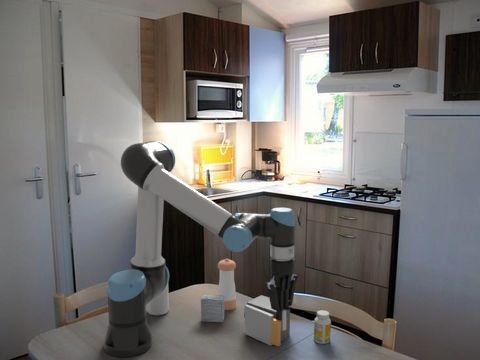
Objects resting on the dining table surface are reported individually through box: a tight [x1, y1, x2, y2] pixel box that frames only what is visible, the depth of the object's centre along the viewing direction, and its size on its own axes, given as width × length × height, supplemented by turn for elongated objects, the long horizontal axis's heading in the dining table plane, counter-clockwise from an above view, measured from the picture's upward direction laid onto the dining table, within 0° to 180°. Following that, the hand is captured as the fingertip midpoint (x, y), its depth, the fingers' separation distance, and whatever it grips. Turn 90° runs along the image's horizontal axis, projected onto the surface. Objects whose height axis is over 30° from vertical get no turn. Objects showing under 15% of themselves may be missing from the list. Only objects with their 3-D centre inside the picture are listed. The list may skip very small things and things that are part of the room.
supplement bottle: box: [313, 309, 332, 345], centre depth 155 cm, size 5×5×10 cm
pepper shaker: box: [217, 257, 237, 311], centre depth 181 cm, size 7×7×19 cm
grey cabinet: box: [243, 295, 291, 342], centre depth 160 cm, size 14×8×12 cm, turn 52°
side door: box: [244, 303, 282, 347], centre depth 154 cm, size 15×1×10 cm, turn 45°
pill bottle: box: [146, 283, 170, 316], centre depth 176 cm, size 8×8×15 cm
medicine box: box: [200, 294, 225, 323], centre depth 170 cm, size 8×4×9 cm, turn 84°
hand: (281, 328), depth 151 cm, fingers closed
